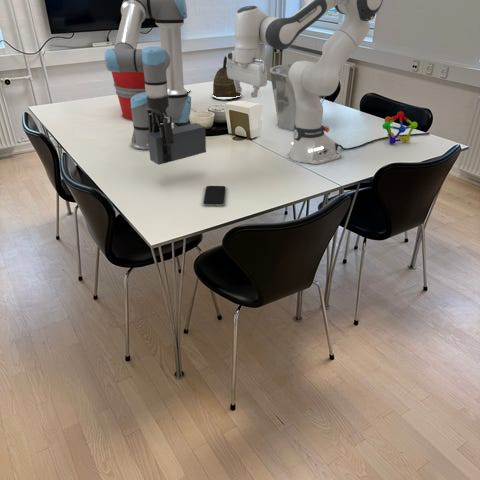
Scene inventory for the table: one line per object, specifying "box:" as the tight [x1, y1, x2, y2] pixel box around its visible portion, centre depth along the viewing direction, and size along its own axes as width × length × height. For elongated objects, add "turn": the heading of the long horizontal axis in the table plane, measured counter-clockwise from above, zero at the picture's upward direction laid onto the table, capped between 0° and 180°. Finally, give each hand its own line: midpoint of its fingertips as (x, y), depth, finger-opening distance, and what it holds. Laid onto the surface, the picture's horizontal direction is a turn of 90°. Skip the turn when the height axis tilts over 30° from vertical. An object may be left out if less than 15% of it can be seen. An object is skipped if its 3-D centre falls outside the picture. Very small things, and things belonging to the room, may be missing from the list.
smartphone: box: [203, 185, 226, 207], centre depth 161 cm, size 7×1×15 cm
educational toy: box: [382, 110, 418, 145], centre depth 207 cm, size 16×13×15 cm
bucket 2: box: [269, 63, 325, 131], centre depth 226 cm, size 30×30×28 cm
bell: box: [212, 55, 242, 97], centre depth 278 cm, size 19×26×20 cm
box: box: [148, 122, 207, 166], centre depth 166 cm, size 21×6×10 cm, turn 128°
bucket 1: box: [111, 72, 146, 121], centre depth 240 cm, size 35×35×30 cm
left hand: (163, 158), depth 165 cm, fingers closed on box, 6 cm apart
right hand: (246, 94), depth 169 cm, fingers open, 8 cm apart
